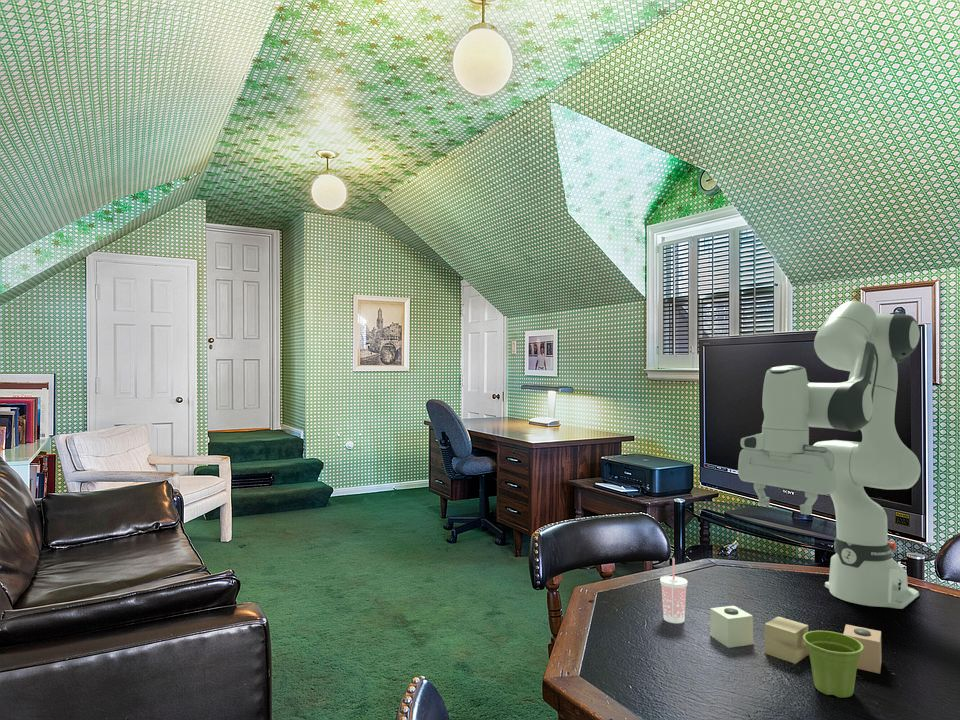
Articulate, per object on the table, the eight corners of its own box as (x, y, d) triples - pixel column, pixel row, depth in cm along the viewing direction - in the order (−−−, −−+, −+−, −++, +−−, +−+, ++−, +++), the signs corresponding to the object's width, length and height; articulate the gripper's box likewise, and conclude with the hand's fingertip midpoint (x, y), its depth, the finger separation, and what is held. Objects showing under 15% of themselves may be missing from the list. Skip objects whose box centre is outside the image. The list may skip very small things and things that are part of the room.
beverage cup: (689, 616, 146) (689, 556, 146) (686, 626, 140) (685, 563, 140) (662, 612, 148) (661, 553, 149) (658, 621, 143) (657, 560, 143)
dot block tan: (846, 654, 127) (845, 622, 127) (881, 662, 123) (881, 629, 123) (843, 665, 122) (843, 633, 122) (880, 674, 118) (879, 640, 118)
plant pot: (834, 707, 106) (833, 655, 107) (791, 681, 115) (791, 633, 116) (877, 699, 109) (876, 648, 109) (832, 674, 118) (832, 627, 118)
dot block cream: (734, 633, 137) (734, 604, 137) (753, 644, 131) (752, 614, 131) (710, 636, 135) (710, 606, 135) (728, 648, 129) (728, 617, 130)
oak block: (778, 645, 131) (778, 616, 131) (808, 655, 126) (808, 625, 126) (764, 653, 127) (764, 623, 127) (795, 664, 122) (795, 633, 122)
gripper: (843, 447, 124) (843, 518, 123) (752, 438, 141) (751, 500, 141) (824, 448, 120) (824, 521, 120) (733, 438, 138) (733, 502, 138)
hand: (784, 509), depth 130 cm, fingers open, 8 cm apart
